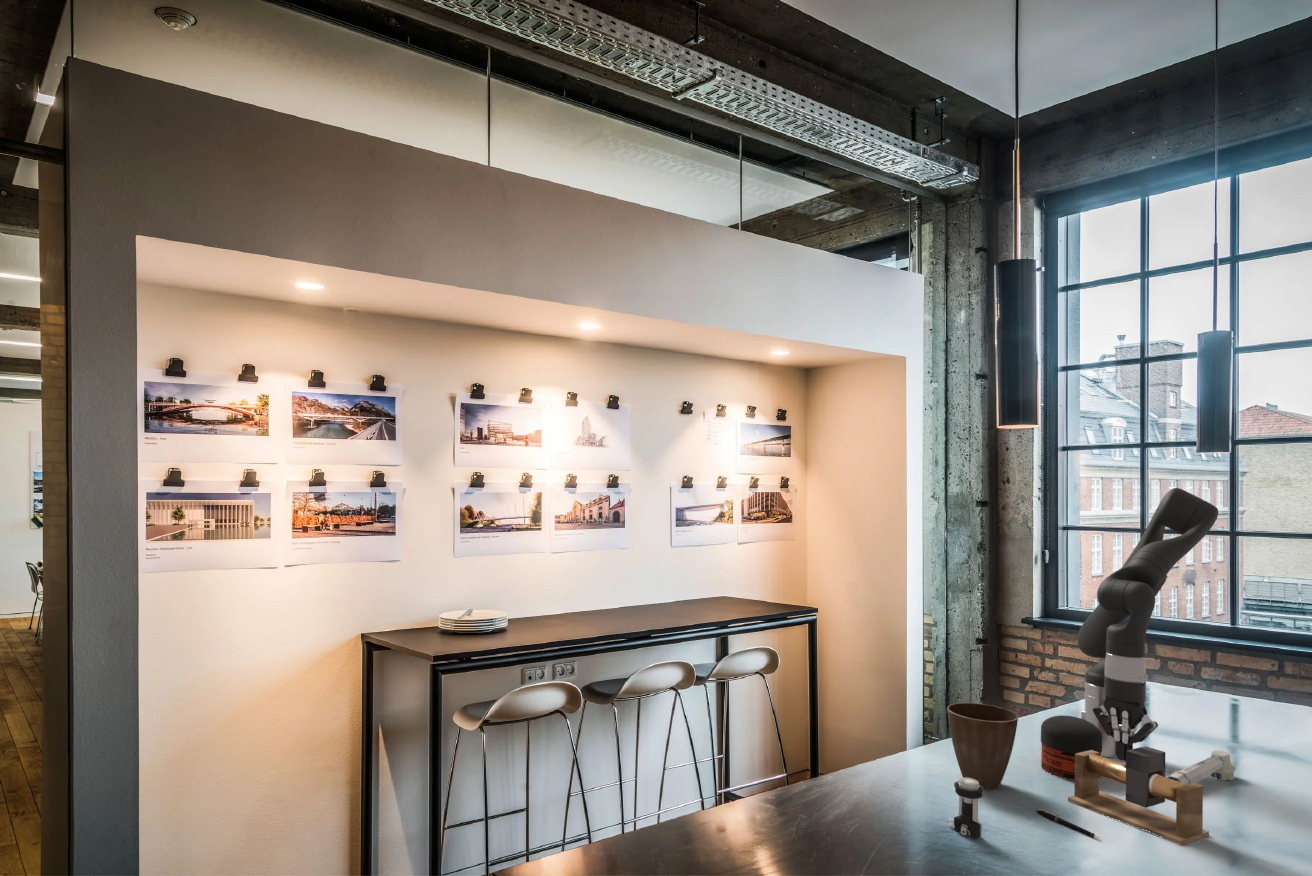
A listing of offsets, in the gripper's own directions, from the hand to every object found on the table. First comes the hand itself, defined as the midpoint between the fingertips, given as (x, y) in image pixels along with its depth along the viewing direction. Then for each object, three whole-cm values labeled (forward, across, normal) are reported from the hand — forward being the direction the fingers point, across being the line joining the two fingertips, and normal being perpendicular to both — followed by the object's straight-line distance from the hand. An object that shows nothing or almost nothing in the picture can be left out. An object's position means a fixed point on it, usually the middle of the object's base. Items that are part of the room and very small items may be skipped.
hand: (1124, 760), depth 169 cm
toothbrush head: (+11, -2, +35) cm, 37 cm away
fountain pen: (+11, -1, -17) cm, 21 cm away
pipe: (+5, +2, 0) cm, 6 cm away
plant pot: (+11, -24, -14) cm, 30 cm away
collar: (+7, +4, 0) cm, 8 cm away
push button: (+11, -8, -39) cm, 41 cm away
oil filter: (+11, -20, +13) cm, 27 cm away
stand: (+11, +2, 0) cm, 11 cm away
